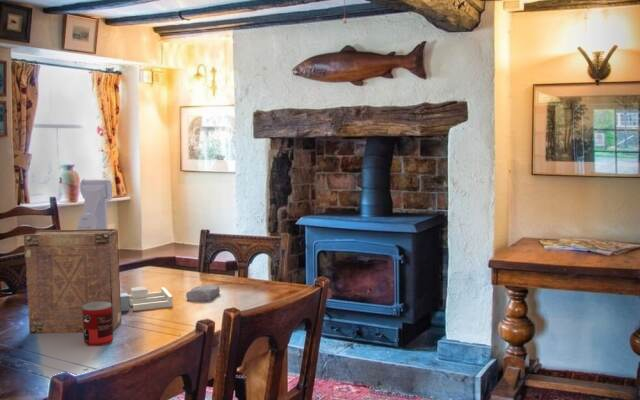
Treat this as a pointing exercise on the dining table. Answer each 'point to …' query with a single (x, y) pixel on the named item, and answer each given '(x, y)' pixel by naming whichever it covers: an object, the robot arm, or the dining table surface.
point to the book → (70, 277)
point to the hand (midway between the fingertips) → (87, 308)
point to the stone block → (203, 293)
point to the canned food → (97, 323)
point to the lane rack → (153, 301)
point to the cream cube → (139, 293)
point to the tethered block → (124, 301)
